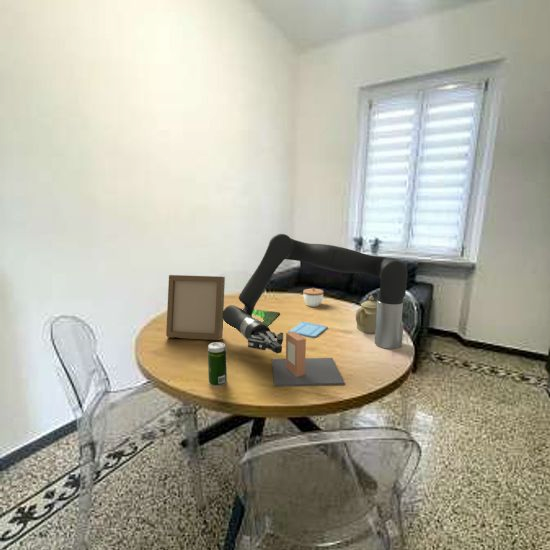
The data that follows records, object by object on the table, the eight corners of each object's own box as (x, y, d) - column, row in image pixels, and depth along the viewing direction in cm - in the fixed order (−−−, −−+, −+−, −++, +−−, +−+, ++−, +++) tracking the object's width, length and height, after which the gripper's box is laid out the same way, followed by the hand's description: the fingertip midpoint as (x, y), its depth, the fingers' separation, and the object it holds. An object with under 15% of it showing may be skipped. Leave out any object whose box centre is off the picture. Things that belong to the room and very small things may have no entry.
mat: (332, 359, 120) (332, 357, 120) (344, 384, 103) (344, 382, 103) (271, 360, 118) (271, 359, 118) (274, 386, 102) (274, 384, 102)
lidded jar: (312, 301, 191) (313, 284, 189) (327, 305, 183) (327, 288, 181) (298, 304, 184) (299, 287, 182) (313, 309, 176) (313, 291, 174)
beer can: (230, 382, 104) (229, 345, 102) (216, 389, 100) (214, 350, 98) (219, 376, 108) (218, 340, 105) (205, 382, 104) (203, 345, 101)
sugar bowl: (381, 338, 139) (384, 302, 136) (354, 334, 142) (355, 299, 139) (383, 326, 152) (385, 293, 149) (357, 323, 156) (359, 291, 153)
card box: (293, 365, 114) (294, 331, 111) (305, 374, 108) (305, 338, 105) (285, 367, 112) (286, 332, 110) (296, 376, 106) (297, 340, 104)
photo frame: (219, 342, 134) (217, 279, 129) (166, 339, 137) (162, 277, 132) (229, 329, 148) (228, 272, 143) (181, 326, 151) (178, 270, 146)
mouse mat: (263, 333, 144) (263, 331, 144) (215, 327, 150) (215, 325, 150) (281, 313, 170) (281, 311, 170) (239, 309, 176) (239, 307, 176)
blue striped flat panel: (314, 339, 138) (315, 336, 138) (288, 333, 144) (288, 330, 144) (327, 329, 150) (327, 326, 150) (302, 324, 156) (302, 321, 156)
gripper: (236, 323, 112) (258, 342, 97) (272, 317, 118) (298, 334, 103) (236, 345, 113) (259, 366, 98) (272, 338, 120) (298, 357, 105)
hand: (279, 350), depth 101 cm, fingers closed
